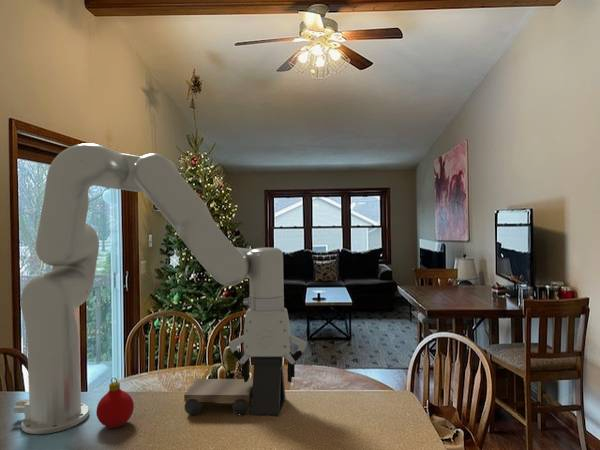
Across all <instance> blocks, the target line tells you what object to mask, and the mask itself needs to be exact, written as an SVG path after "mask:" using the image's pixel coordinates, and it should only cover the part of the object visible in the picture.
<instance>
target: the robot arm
mask: <svg viewBox="0 0 600 450" xmlns="http://www.w3.org/2000/svg"><path fill="white" fill-rule="evenodd" d="M93 186H97V187H101V188H102V187H103V188H107V189H115V190H122V191H129V192H136V193H143V194H144V195H145V196H146V197H147V198H148V200H149V201H150V202H151V203H152V204H153V205H154V206H155V208H156V209H157V210H158V211H159V213H160V214H162V216H163V218H165V219H166V221H167V222H168V223H169V224H170V225H171V226H172V228H173V229H174V231H175V232H176V234H177V235H178V236H179V239H181V240H182V242H183V243H184V244H185V246H186V247H187V248H188V249H189V251H190V253H191V254H192V256H194V258H195V259H196V260H197V261H198V262H199V264H200V265H201V266H202V267H203V268H204V269H205V271H206V272H207V273H208V274H209V275H210V276H211V278H213V279H214V280H215V281H216V282H217V283H219V284H220V285H223V286H227V287H233V286H237V285H239V284H240V283H241V282H243V281H244V280H245V278H246V279H249V297H247V298H243V302H242V304H243V305H247V306H248V307H249V308H248V309H247V310H246V311H245V317H244V325H243V327H244V328H243V334H242V335H240V336H238V337H237V338H235V339H233V340H231V341H230V342H229V343H228V347H229V349H230V351H231V352H232V356H234V358H236V360H238V361H239V364H241V366H240V367H241V370H240V371H241V372H240V373H241V377H242V378H243V379H244V382H247V381H248V379H250V375H251V374H250V367H251V366H250V360H249V358H254V357H282V358H285V359H286V360H287V361H288V362H287V366H286V367H287V371H286V373H287V383H292V379H293V378H295V375H296V373H295V370H296V369H295V368H296V367H295V363H296V362H297V361H298V360H299V359H300V358H301V357H302V356H303V354H304V351H305V350H306V348H307V341H306V340H303V339H301V338H299V337H297V336H295V335H293V334H292V333H291V327H290V319H289V314H288V309H287V308H286V307H285V301H284V300H285V295H284V294H285V293H284V290H285V289H284V284H285V283H284V254H283V251H282V250H281V249H280V248H278V247H256V248H246V247H236V246H235V245H234V244H233V243H232V242H231V240H230V239H229V238H228V237H227V236H226V235H225V234H224V232H223V231H222V230H221V228H220V227H219V226H218V224H217V222H216V221H215V219H214V218H213V217H212V214H211V212H210V210H209V208H208V206H207V205H206V203H205V201H204V200H203V199H202V198H201V197H200V196H199V195H198V193H197V192H196V191H195V190H194V189H193V188H192V187H191V185H190V184H189V183H188V181H186V179H185V178H184V177H183V176H182V174H181V173H180V171H179V169H178V167H177V165H176V164H175V163H174V162H173V161H172V160H170V159H169V158H167V157H166V156H163V155H162V154H158V153H147V154H144V155H142V156H141V155H140V156H139V155H135V154H129V153H121V152H117V151H115V150H112V149H111V148H109V147H108V146H107V147H106V146H104V145H101V144H96V143H87V142H86V143H80V144H79V143H78V144H74V145H72V146H69V147H68V148H65V149H64V150H62V151H60V153H58V154H57V155H56V156H55V157H54V159H53V160H52V161H51V164H50V166H49V167H48V171H47V174H46V180H45V187H44V194H43V202H42V206H41V212H40V218H39V224H38V229H37V236H36V241H35V252H36V255H37V257H38V259H39V260H40V261H41V262H42V263H43V264H45V265H48V266H52V267H51V268H52V269H51V271H47V272H44V273H40V274H39V275H36V276H34V278H32V279H30V280H29V281H28V282H27V283H26V284H25V286H24V287H23V290H22V291H21V295H20V307H21V312H22V317H23V322H24V326H25V336H26V351H27V373H28V374H27V377H28V399H27V398H26V399H23V398H22V399H18V400H16V402H15V406H14V407H13V410H12V411H13V413H14V414H22V413H23V414H24V418H23V419H22V420H21V423H20V424H21V425H20V426H21V427H20V428H21V430H22V431H23V432H25V433H27V434H31V435H45V434H51V433H52V434H53V433H57V432H61V431H65V430H68V429H70V428H73V427H75V426H77V425H79V424H81V423H83V422H84V421H85V420H86V419H87V418H88V417H89V415H90V408H89V405H87V404H85V403H82V398H81V397H82V393H81V369H80V367H81V365H80V364H81V363H80V341H79V340H80V339H79V338H80V337H79V330H78V323H77V320H76V316H75V313H74V312H75V311H74V309H76V308H78V307H80V306H81V305H83V304H84V303H85V302H86V301H87V300H88V299H89V297H90V295H91V293H92V290H93V287H94V282H95V276H96V271H97V270H96V268H97V264H98V258H99V250H100V249H99V248H100V243H99V241H100V240H99V236H98V234H97V232H96V230H95V229H94V228H93V226H91V225H89V224H88V223H87V216H88V211H89V205H90V204H89V201H90V200H89V190H90V188H91V187H93ZM242 343H243V352H242V351H241V350H240V349H239V348H238V345H241V344H242ZM291 343H292V344H293V345H296V346H298V348H297V350H296V351H295V352H294V353H293V351H292V350H291V346H292V345H291Z"/></svg>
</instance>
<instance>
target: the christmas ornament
mask: <svg viewBox="0 0 600 450" xmlns="http://www.w3.org/2000/svg"><path fill="white" fill-rule="evenodd" d="M113 379H114V380H115V381H114V382H113ZM108 388H109V389H108V392H107V393H105V394H104V395H103V396H102V397H101V398H100V400H99V401H98V404H97V406H96V417H97V420H98V422H100V423H101V424H102V425H103V426H105V427H107V428H118V427H121V426H123V425H124V424H126V423H127V422H128V421H129V420H130V419H131V417H132V415H133V412H134V408H135V404H134V400H133V397H132V396H131V395H130V394H129V393H128V392H126V391H124V390H122V389H120V388H121V383H120V382H119V381H118V380H117V378H116V377H112V378H111V380H110V383H109V385H108Z"/></svg>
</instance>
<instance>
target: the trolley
mask: <svg viewBox="0 0 600 450" xmlns="http://www.w3.org/2000/svg"><path fill="white" fill-rule="evenodd" d="M252 389H253V378H249V379H248V381H247V382H244V378H196V379H195V380H194V381H193V383H192V385H191V386H190V387H189V388H188V389H187V390H186V392H184V393H185V394H184V396H183V400H184V403H185V404H184V410H185V412H186V413H187V415H190V416H197V415H198V414H199V413H201V411H202V409H203V406H204V403H209V402H210V403H232V406H231V407H232V411H233V413H234V414H236V415H237V416H240V415H242V416H245V415H246V414H247V413H248V412H249V411H250V407H251V401H252ZM239 414H240V415H239Z"/></svg>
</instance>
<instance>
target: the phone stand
mask: <svg viewBox="0 0 600 450" xmlns="http://www.w3.org/2000/svg"><path fill="white" fill-rule="evenodd" d="M252 358H253V364H252V365H253V374H252V379H253V389H252V399H251V406H250V407H251V409H250V410H251V411H250V415H251V416H266V415H268V417H271V416H272V417H279V416H280V414H281V412H280V411H282V409H283V406H284V403H285V400H286V388H285V379H284V369H283V367H284V366H283V357H252Z"/></svg>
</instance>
